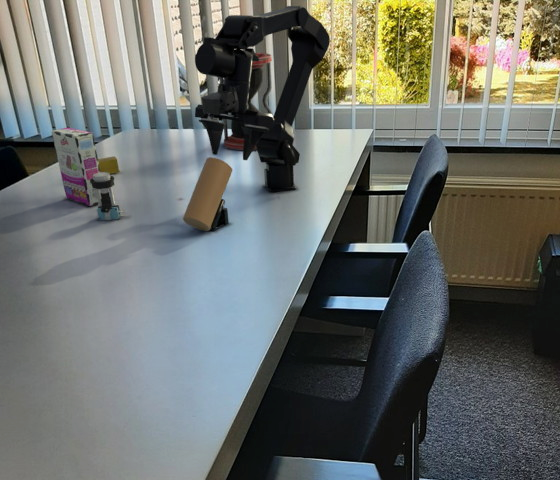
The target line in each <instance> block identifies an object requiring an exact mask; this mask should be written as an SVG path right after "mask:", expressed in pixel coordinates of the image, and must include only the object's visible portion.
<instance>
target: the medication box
mask: <svg viewBox="0 0 560 480" xmlns="http://www.w3.org/2000/svg"><path fill="white" fill-rule="evenodd" d="M98 162H99V168H100V172H107V173H109V174H110V175H111V174H117V173H120V172H121V171H120V169H119V162H118V158H117V157H116V156H115V155H112V156H108V157H107V156H106V157H102V158H101V157H100V158H98Z"/></svg>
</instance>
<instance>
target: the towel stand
mask: <svg viewBox="0 0 560 480" xmlns="http://www.w3.org/2000/svg"><path fill="white" fill-rule="evenodd" d="M225 204H226V200H225V199H224V198H222V199H221V201H220V204H219V207H218V209H217V212H216V214H215V217H214V219H213V222H212V225H211V227H210V231H211V232H216V231H218V230H219V229H221V228H223V227H225V226H228V225H229V224H230V222H229V211H228V207H225Z"/></svg>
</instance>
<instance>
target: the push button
mask: <svg viewBox="0 0 560 480" xmlns="http://www.w3.org/2000/svg"><path fill="white" fill-rule="evenodd" d="M90 183H92V187H93V188H96V193H97V198H98V202H99V204H97V206H98V207H97V208H96V213H97V217H98V220H99V221H105V220H106V221H111V220H119V219H120V217H126V216H128V214H127V213H126V212H127V210H126V209H125V210H122V209H120V205H119V204H117V202H116V201H115V195H114V191H113V187H114V186H115V177H114V176H113V175H111V174H109V173H107V172H100V173H96V174H94V175H93V178H92V179H90ZM100 191H101V194H100ZM123 213H125V214H123Z"/></svg>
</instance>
